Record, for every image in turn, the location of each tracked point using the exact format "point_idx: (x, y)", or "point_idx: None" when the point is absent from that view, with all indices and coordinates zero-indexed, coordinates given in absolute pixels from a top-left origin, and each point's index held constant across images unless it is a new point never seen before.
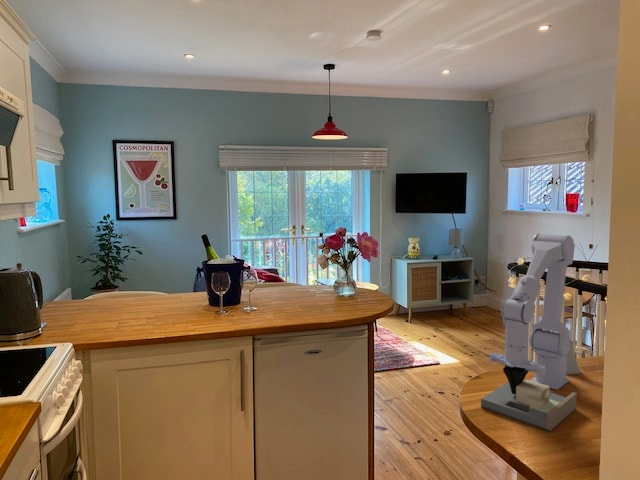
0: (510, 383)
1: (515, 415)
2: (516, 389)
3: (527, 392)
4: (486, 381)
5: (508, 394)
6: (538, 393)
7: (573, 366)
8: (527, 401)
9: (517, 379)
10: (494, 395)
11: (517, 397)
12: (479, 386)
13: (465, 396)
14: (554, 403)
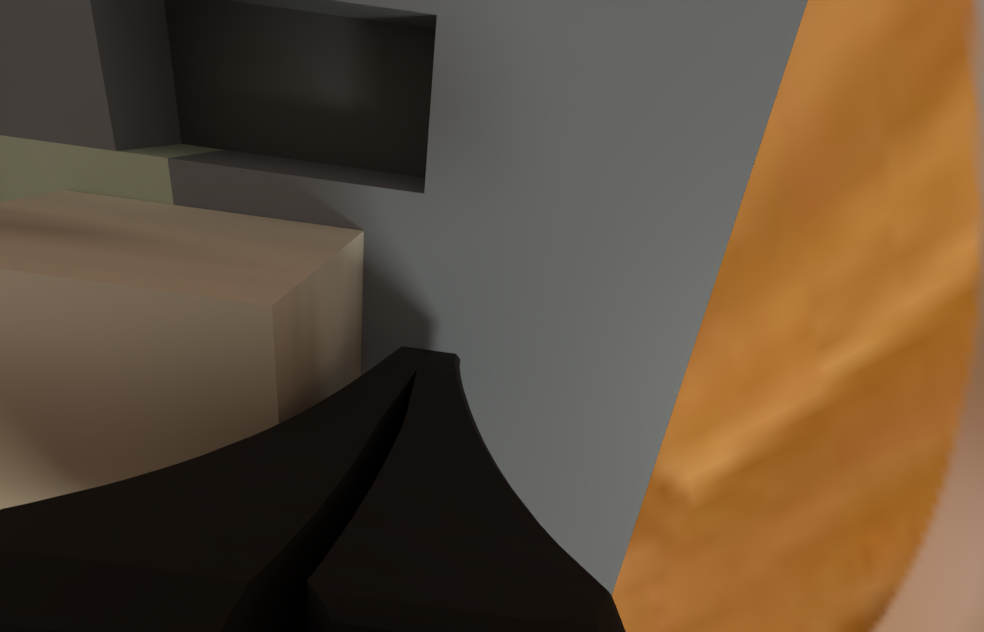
0: (446, 415)
1: None
2: (292, 285)
3: (77, 256)
4: (797, 595)
5: (506, 356)
6: None
7: None
8: (186, 220)
9: (234, 460)
10: (649, 234)
11: (324, 242)
12: (844, 492)
13: (971, 210)
14: None
